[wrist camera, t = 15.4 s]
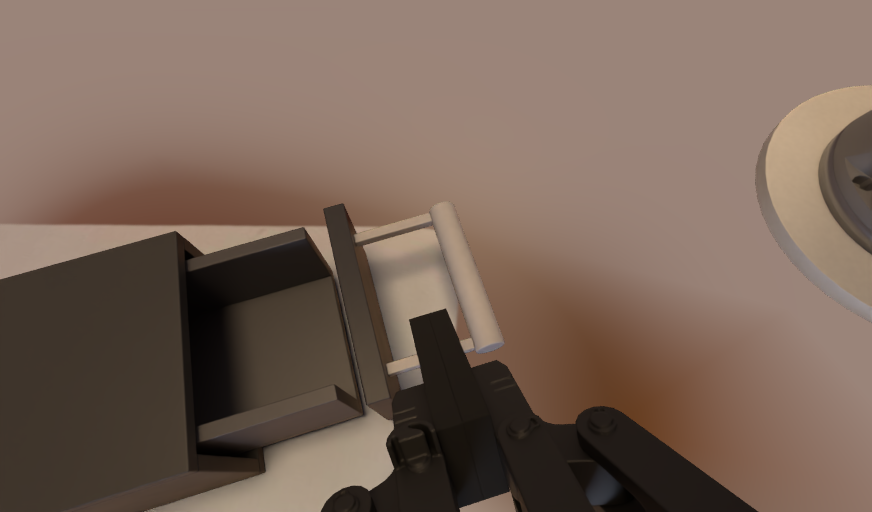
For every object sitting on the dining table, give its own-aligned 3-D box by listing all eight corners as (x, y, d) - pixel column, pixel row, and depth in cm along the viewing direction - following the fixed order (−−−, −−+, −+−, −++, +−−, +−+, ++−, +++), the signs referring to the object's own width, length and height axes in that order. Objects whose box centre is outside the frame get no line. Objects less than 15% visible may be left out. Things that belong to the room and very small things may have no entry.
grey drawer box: (243, 287, 33) (176, 230, 26) (265, 472, 28) (189, 471, 20) (36, 346, 32) (-100, 306, 24) (18, 551, 27) (-163, 582, 19)
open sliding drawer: (450, 228, 33) (447, 173, 27) (505, 383, 28) (516, 358, 22) (176, 308, 32) (107, 268, 26) (185, 485, 27) (103, 487, 21)
